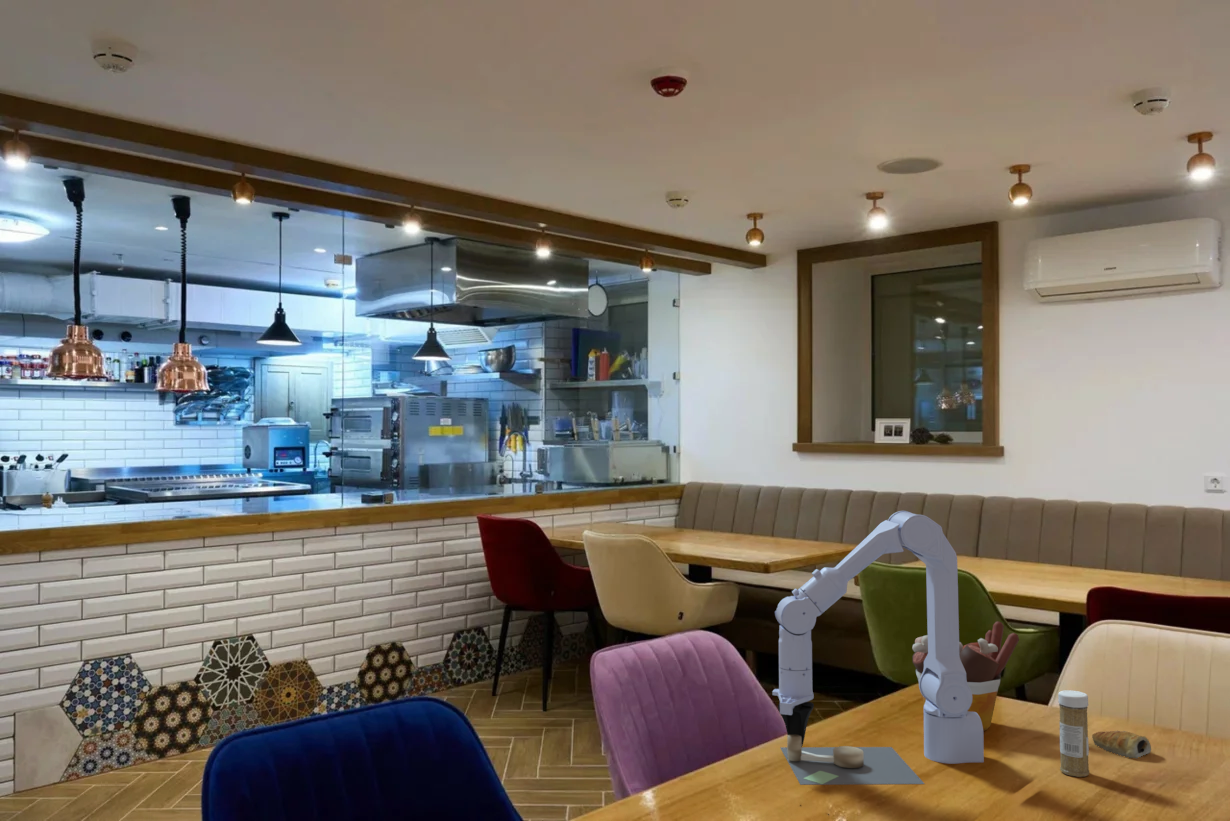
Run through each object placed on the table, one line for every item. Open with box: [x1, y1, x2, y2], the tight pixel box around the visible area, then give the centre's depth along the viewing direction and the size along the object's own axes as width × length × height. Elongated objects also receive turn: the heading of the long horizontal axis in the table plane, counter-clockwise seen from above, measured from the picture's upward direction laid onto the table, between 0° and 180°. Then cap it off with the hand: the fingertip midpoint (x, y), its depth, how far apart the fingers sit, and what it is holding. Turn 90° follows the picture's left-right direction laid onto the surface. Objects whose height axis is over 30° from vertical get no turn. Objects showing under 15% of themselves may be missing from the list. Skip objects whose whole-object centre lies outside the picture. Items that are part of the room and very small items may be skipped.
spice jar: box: [1057, 689, 1090, 778], centre depth 160 cm, size 5×5×14 cm
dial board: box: [780, 746, 925, 786], centre depth 161 cm, size 20×18×1 cm
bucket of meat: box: [911, 621, 1020, 732], centre depth 187 cm, size 20×16×20 cm
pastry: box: [1091, 730, 1152, 759], centre depth 172 cm, size 9×7×4 cm
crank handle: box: [786, 734, 864, 768], centre depth 162 cm, size 13×5×4 cm, turn 79°
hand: (796, 745), depth 165 cm, fingers closed
